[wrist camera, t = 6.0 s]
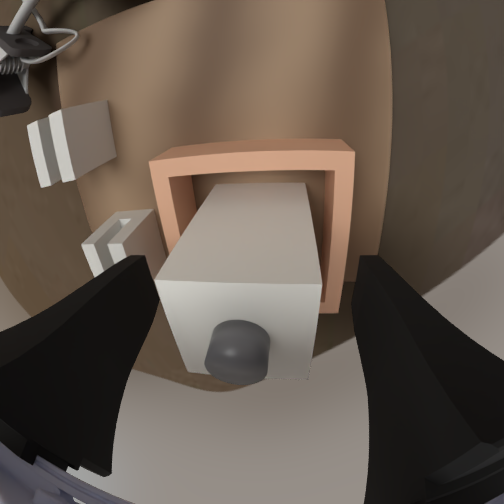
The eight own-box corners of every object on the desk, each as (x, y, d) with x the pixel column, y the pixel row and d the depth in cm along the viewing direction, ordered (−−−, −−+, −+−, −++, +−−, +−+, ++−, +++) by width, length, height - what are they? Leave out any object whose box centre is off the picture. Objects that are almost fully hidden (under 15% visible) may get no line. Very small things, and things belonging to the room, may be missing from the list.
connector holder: (341, 139, 11) (355, 151, 9) (332, 280, 15) (338, 313, 13) (172, 147, 12) (148, 161, 10) (197, 279, 16) (185, 310, 14)
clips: (133, 91, 10) (88, 98, 7) (166, 258, 15) (141, 299, 12) (72, 112, 11) (27, 125, 8) (110, 258, 16) (82, 293, 13)
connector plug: (305, 182, 12) (326, 315, 5) (302, 258, 14) (308, 405, 7) (215, 184, 12) (138, 307, 6) (224, 257, 15) (180, 395, 8)
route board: (376, -6, 7) (382, -12, 6) (368, 270, 15) (372, 281, 14) (67, 44, 9) (56, 43, 9) (115, 268, 17) (108, 277, 17)
